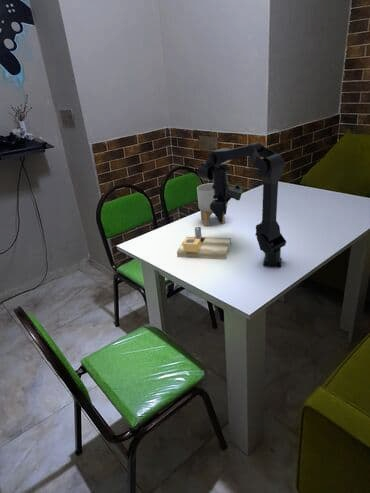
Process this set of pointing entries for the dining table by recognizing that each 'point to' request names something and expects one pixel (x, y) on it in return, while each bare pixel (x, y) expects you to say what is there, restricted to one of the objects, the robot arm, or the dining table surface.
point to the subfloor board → (208, 248)
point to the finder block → (191, 245)
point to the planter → (206, 201)
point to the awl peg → (198, 233)
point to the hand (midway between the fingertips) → (222, 218)
